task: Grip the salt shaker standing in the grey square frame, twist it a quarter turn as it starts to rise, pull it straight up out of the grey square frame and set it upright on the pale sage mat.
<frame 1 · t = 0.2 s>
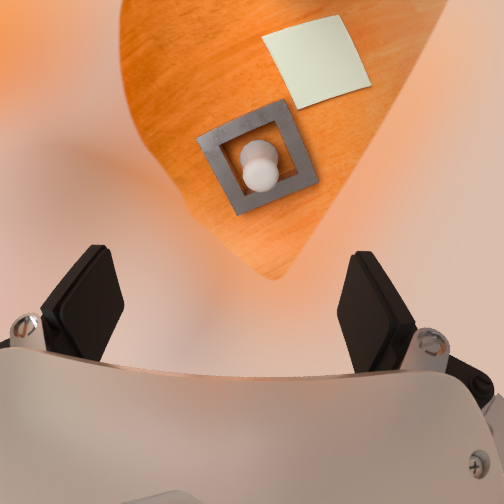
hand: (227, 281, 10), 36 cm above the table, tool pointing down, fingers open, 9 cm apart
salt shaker: (258, 154, 43), resting in grey square frame
mat: (318, 59, 34), on the table
grey square frame: (258, 155, 43), on the table
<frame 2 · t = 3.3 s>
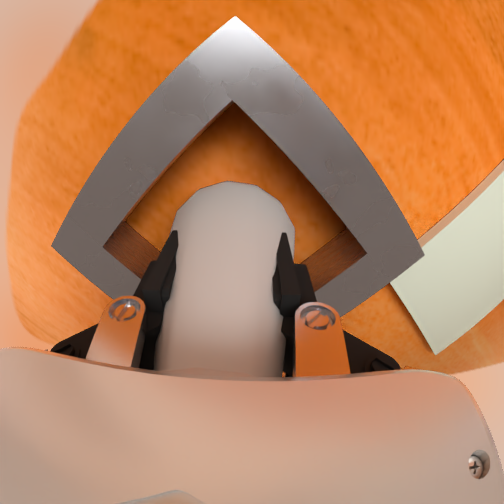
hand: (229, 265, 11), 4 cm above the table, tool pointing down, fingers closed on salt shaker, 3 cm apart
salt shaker: (234, 220, 15), resting in grey square frame, touching gripper
mat: (473, 268, 17), on the table
grey square frame: (234, 222, 15), on the table
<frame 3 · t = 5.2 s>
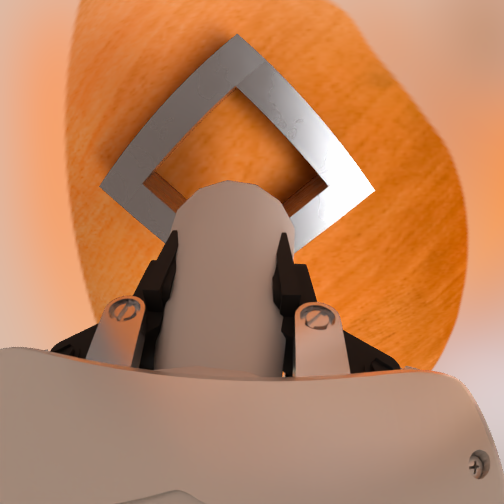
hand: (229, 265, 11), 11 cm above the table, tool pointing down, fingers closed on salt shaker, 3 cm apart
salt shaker: (234, 220, 15), point 7 cm above the table, touching gripper
grey square frame: (235, 170, 21), on the table
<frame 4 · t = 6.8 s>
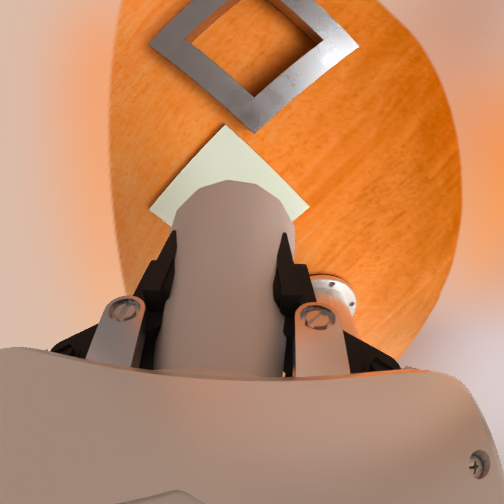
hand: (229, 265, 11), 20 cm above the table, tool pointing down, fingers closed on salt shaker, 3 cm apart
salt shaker: (234, 219, 15), point 16 cm above the table, touching gripper
mat: (228, 204, 32), on the table
grey square frame: (253, 40, 22), on the table
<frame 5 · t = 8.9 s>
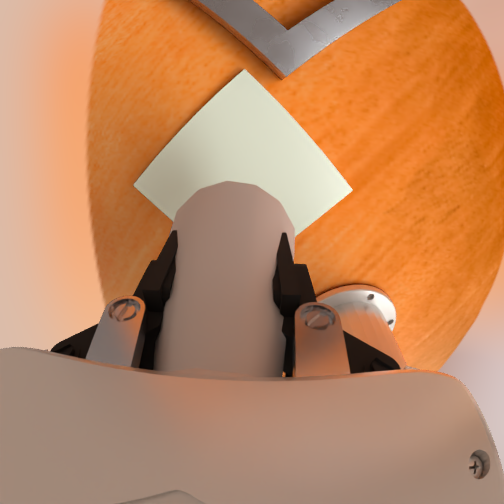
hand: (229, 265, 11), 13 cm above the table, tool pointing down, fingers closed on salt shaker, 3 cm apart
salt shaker: (234, 220, 15), point 8 cm above the table, touching gripper
mat: (241, 181, 23), on the table
when the fingers open (6 cm above the table, at t = 10.4 s): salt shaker drops 1 cm, resting on mat.
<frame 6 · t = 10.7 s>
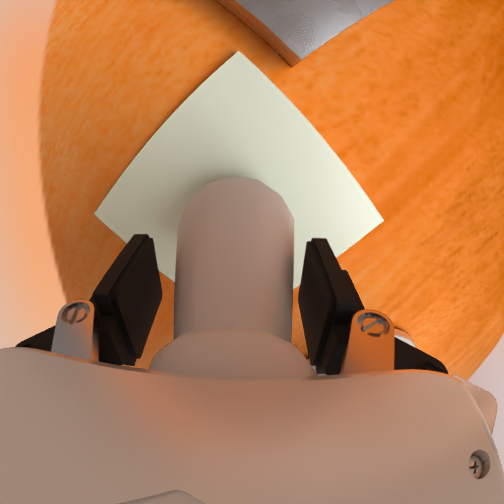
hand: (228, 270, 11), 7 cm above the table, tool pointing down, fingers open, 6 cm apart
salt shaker: (237, 214, 16), point 1 cm above the table, touching mat
mat: (236, 208, 17), on the table
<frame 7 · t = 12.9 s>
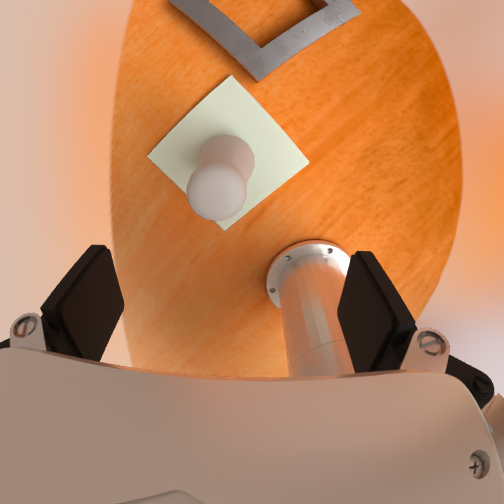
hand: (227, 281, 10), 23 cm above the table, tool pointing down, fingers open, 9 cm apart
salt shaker: (228, 157, 30), point 1 cm above the table, touching mat
mat: (227, 155, 30), on the table
grey square frame: (263, 4, 21), on the table
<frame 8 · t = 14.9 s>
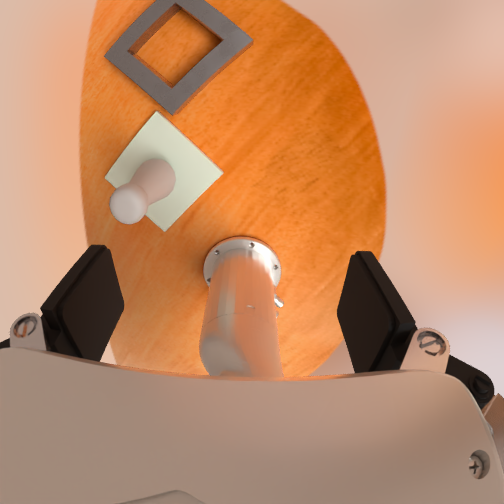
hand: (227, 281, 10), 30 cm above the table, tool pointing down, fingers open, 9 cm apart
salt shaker: (160, 174, 38), point 1 cm above the table, touching mat
mat: (161, 172, 38), on the table
grey square frame: (178, 47, 29), on the table
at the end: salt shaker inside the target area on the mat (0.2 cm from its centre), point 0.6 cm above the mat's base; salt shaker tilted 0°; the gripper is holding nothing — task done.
